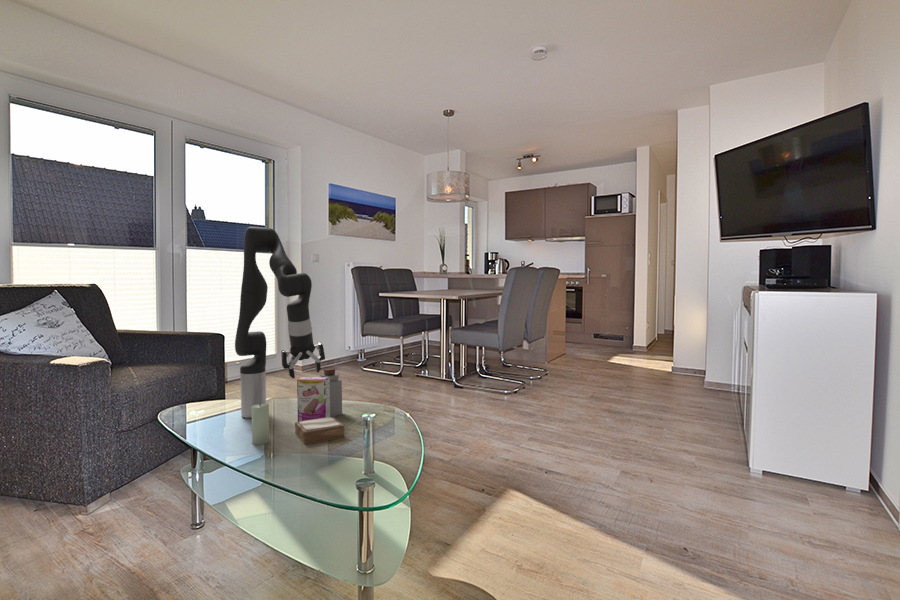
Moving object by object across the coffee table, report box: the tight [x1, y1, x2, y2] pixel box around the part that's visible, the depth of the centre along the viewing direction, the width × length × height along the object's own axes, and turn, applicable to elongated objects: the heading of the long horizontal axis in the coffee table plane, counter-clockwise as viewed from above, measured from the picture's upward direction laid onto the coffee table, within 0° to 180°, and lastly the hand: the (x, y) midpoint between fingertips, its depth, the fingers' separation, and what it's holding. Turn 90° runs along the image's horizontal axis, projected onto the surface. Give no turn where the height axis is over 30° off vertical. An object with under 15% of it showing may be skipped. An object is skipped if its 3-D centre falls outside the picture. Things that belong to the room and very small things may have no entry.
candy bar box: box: [296, 376, 330, 422], centre depth 171 cm, size 11×5×16 cm, turn 84°
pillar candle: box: [251, 403, 270, 446], centre depth 148 cm, size 5×5×13 cm
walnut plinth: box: [294, 416, 345, 446], centre depth 154 cm, size 13×13×4 cm
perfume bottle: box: [319, 367, 343, 417], centre depth 180 cm, size 7×7×18 cm
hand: (305, 374), depth 160 cm, fingers open, 8 cm apart
